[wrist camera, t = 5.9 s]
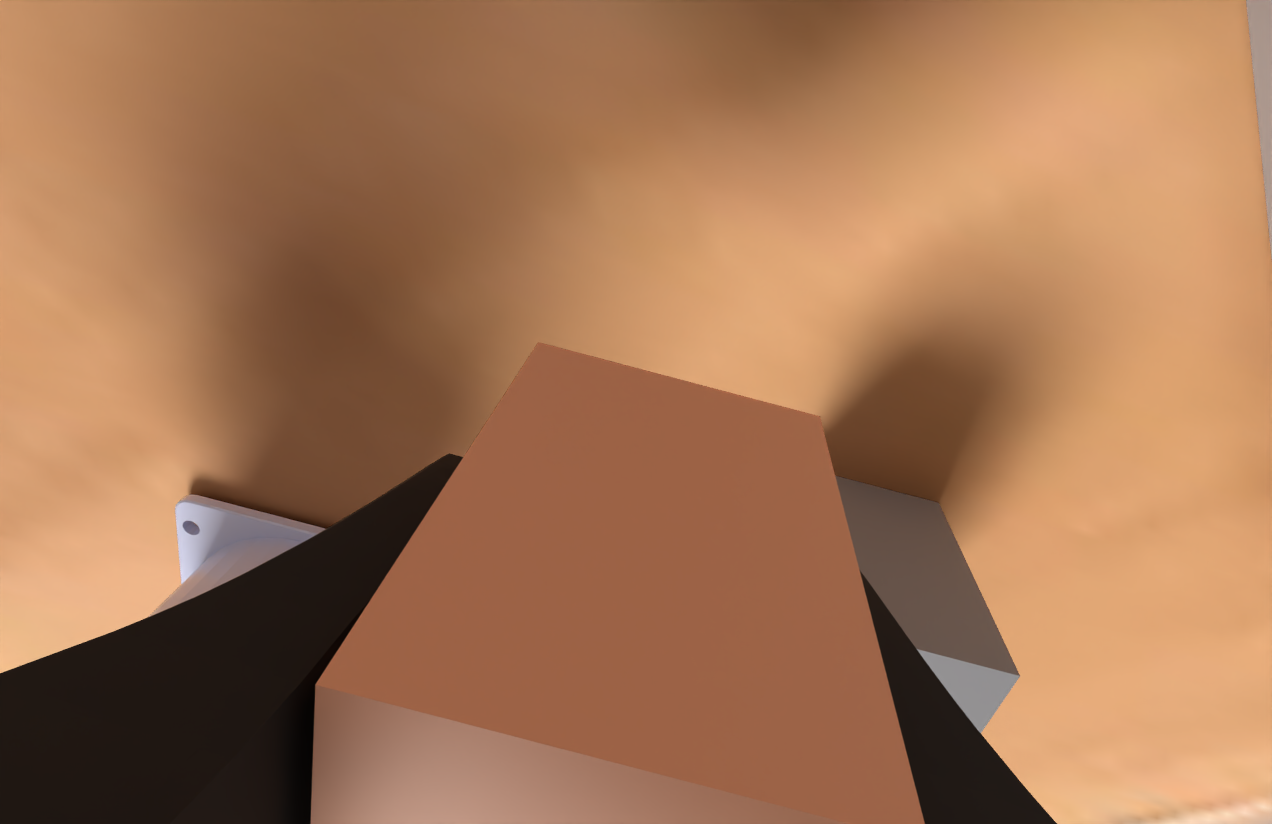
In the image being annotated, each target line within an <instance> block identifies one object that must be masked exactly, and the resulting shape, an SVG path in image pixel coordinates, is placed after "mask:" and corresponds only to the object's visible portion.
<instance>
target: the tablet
mask: <svg viewBox="0 0 1272 824" xmlns="http://www.w3.org/2000/svg"><path fill="white" fill-rule="evenodd" d="M1246 4H1247V14H1248V24H1249V34H1250V45H1251V55H1252V65H1253V75H1254V85H1255V95H1256V105H1257V115H1258V125H1259V136H1260V146H1261V156H1262V166H1263V176H1264V186H1265V196H1266V206H1267V216H1268V227H1269V237H1270V247H1271V257H1272V0H1246Z"/></svg>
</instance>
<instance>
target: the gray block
mask: <svg viewBox="0 0 1272 824" xmlns="http://www.w3.org/2000/svg"><path fill="white" fill-rule="evenodd" d="M835 477H836V481H837V485H838V489H839V492H840V496H841V500H842V504H843V508H844V512H845V516H846V520H847V524H848V527H849V531H850V535H851V539H852V543H853V547H854V551H855V555H856V559H857V562H858V566H859V570H860V571H861V572H862V574H863V575H864V576H865V578H866V579H867V580H868V582H869V583H870V585H871V586H872V587H873V589H874V590H875V591H876V593H877V594H878V596H879V597H880V599H881V600H882V601H883V603H884V604H885V606H886V607H887V608H888V610H889V611H890V613H891V614H892V615H893V617H894V618H895V620H896V621H897V622H898V624H899V625H900V627H901V628H902V629H903V631H904V632H905V634H906V635H907V636H908V638H909V639H910V641H911V642H912V643H913V645H914V646H915V648H916V649H917V650H918V652H919V653H920V654H921V656H922V657H923V659H924V660H925V661H926V663H927V664H928V665H929V667H930V668H931V669H932V671H933V672H934V673H935V675H936V676H937V678H938V679H939V680H940V682H941V683H942V684H943V686H944V687H945V688H946V690H947V691H948V692H949V694H950V695H951V696H952V697H953V699H954V700H955V701H956V703H957V704H958V705H959V707H960V708H961V709H962V710H963V712H964V713H965V714H966V716H967V717H968V718H969V719H970V721H971V722H972V723H973V725H974V726H975V727H976V728H977V730H978V731H979V732H980V733H981V732H982V731H983V729H984V728H985V726H986V725H987V723H988V722H989V720H990V719H991V718H992V716H993V715H994V713H995V712H996V710H997V709H998V707H999V706H1000V704H1001V703H1002V702H1003V700H1004V699H1005V697H1006V696H1007V694H1008V693H1009V691H1010V690H1011V688H1012V687H1013V686H1014V684H1015V683H1016V681H1017V680H1018V678H1019V677H1020V675H1019V673H1018V671H1017V669H1016V666H1015V664H1014V662H1013V660H1012V658H1011V656H1010V654H1009V652H1008V649H1007V647H1006V645H1005V643H1004V641H1003V639H1002V637H1001V635H1000V632H999V630H998V628H997V626H996V624H995V622H994V620H993V618H992V615H991V613H990V611H989V609H988V607H987V605H986V603H985V600H984V598H983V596H982V594H981V592H980V590H979V588H978V586H977V583H976V581H975V579H974V577H973V575H972V573H971V571H970V569H969V566H968V564H967V562H966V560H965V558H964V556H963V554H962V551H961V549H960V547H959V545H958V543H957V541H956V539H955V537H954V534H953V532H952V530H951V528H950V526H949V524H948V522H947V520H946V517H945V515H944V513H943V511H942V509H941V507H940V505H939V503H938V502H934V501H930V500H926V499H923V498H919V497H915V496H911V495H907V494H903V493H900V492H896V491H892V490H888V489H884V488H881V487H877V486H873V485H869V484H865V483H862V482H858V481H854V480H850V479H846V478H843V477H839V476H835Z"/></svg>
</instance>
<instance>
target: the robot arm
mask: <svg viewBox="0 0 1272 824" xmlns="http://www.w3.org/2000/svg"><path fill="white" fill-rule="evenodd" d="M462 459H463V457H460V456H456V455H453V454H448V455H446V456H444V457H442V458H440V459H439V460H437V461H435V462H434V463H432V464H430V465H429V466H427V467H426V468H424V469H423V470H421V471H419V472H418V473H416V474H415V475H413V476H412V477H410V478H409V479H407V480H406V481H404V482H402V483H401V484H399V485H398V486H396V487H395V488H393V489H391V490H390V491H388V492H387V493H385V494H383V495H382V496H380V497H379V498H377V499H375V500H374V501H372V502H371V503H369V504H367V505H366V506H364V507H362V508H361V509H359V510H357V511H356V512H354V513H352V514H351V515H349V516H347V517H346V518H344V519H342V520H340V521H339V522H337V523H335V524H334V525H332V526H330V527H329V528H327V529H325V528H321V527H318V526H314V525H310V524H306V523H302V522H299V521H295V520H291V519H287V518H283V517H279V516H276V515H272V514H268V513H264V512H260V511H256V510H253V509H249V508H245V507H241V506H237V505H234V504H230V503H226V502H222V501H218V500H214V499H211V498H207V497H203V496H199V495H192V494H191V495H187V496H185V497H184V498H183V499H182V500H180V501H179V502H178V503H177V504H176V508H175V514H176V526H177V537H178V549H179V561H180V573H181V585H180V586H179V587H178V588H177V589H176V590H175V591H174V592H173V593H172V594H171V595H170V596H169V597H168V598H167V599H166V600H165V601H164V602H163V603H162V604H161V605H160V606H159V607H158V608H157V609H156V610H155V611H154V612H153V613H152V614H151V615H150V616H149V617H148V618H145V619H143V620H141V621H138V622H136V623H133V624H131V625H129V626H126V627H124V628H121V629H119V630H116V631H114V632H111V633H108V634H106V635H103V636H100V637H98V638H95V639H92V640H89V641H87V642H84V643H81V644H79V645H76V646H73V647H70V648H68V649H65V650H62V651H60V652H57V653H54V654H52V655H49V656H46V657H43V658H41V659H38V660H35V661H33V662H30V663H27V664H25V665H22V666H19V667H16V668H14V669H11V670H8V671H6V672H3V673H0V824H311V797H312V768H313V739H314V710H315V684H316V683H317V681H318V680H319V678H320V677H321V675H322V674H323V672H324V671H325V669H326V668H327V666H328V665H329V663H330V661H331V660H332V658H333V657H334V655H335V654H336V652H337V651H338V649H339V648H340V646H341V645H342V643H343V641H344V640H345V638H346V637H347V635H348V634H349V632H350V631H351V629H352V628H353V626H354V625H355V623H356V622H357V620H358V618H359V617H360V615H361V614H362V612H363V611H364V609H365V608H366V606H367V605H368V603H369V602H370V600H371V598H372V597H373V595H374V594H375V592H376V591H377V589H378V588H379V586H380V585H381V583H382V582H383V580H384V579H385V577H386V575H387V574H388V572H389V571H390V569H391V568H392V566H393V565H394V563H395V562H396V560H397V559H398V557H399V555H400V554H401V552H402V551H403V549H404V548H405V546H406V545H407V543H408V542H409V540H410V539H411V537H412V535H413V534H414V532H415V531H416V529H417V528H418V526H419V525H420V523H421V522H422V520H423V519H424V517H425V516H426V514H427V512H428V511H429V509H430V508H431V506H432V505H433V503H434V502H435V500H436V499H437V497H438V496H439V494H440V492H441V491H442V489H443V488H444V486H445V485H446V483H447V482H448V480H449V479H450V477H451V476H452V474H453V473H454V471H455V469H456V468H457V466H458V465H459V463H460V462H461V460H462ZM193 522H194V523H196V524H197V525H198V526H197V525H195V524H194V523H193ZM860 574H861V578H862V582H863V586H864V590H865V593H866V597H867V601H868V605H869V609H870V613H871V617H872V621H873V625H874V628H875V632H876V636H877V640H878V644H879V648H880V652H881V656H882V660H883V663H884V667H885V671H886V675H887V679H888V683H889V687H890V691H891V694H892V698H893V702H894V706H895V710H896V714H897V718H898V722H899V726H900V729H901V733H902V737H903V741H904V745H905V749H906V753H907V757H908V761H909V764H910V768H911V772H912V776H913V780H914V784H915V788H916V792H917V795H918V799H919V803H920V807H921V811H922V815H923V819H924V823H925V824H1057V823H1056V822H1055V821H1054V820H1053V819H1052V818H1051V817H1050V815H1049V814H1048V813H1047V812H1046V811H1045V810H1044V809H1043V807H1042V806H1041V805H1040V804H1039V803H1038V802H1037V801H1036V799H1035V798H1034V797H1033V796H1032V795H1031V794H1030V793H1029V791H1028V790H1027V789H1026V788H1025V787H1024V786H1023V784H1022V783H1021V782H1020V781H1019V780H1018V778H1017V777H1016V776H1015V775H1014V774H1013V772H1012V771H1011V770H1010V769H1009V767H1008V766H1007V765H1006V764H1005V763H1004V761H1003V760H1002V759H1001V758H1000V757H999V755H998V754H997V753H996V752H995V750H994V749H993V748H992V747H991V746H990V744H989V743H988V742H987V741H986V739H985V738H984V737H983V736H982V735H981V733H980V732H979V731H978V730H977V728H976V727H975V726H974V725H973V723H972V722H971V721H970V719H969V718H968V717H967V716H966V714H965V713H964V712H963V710H962V709H961V708H960V707H959V705H958V704H957V703H956V701H955V700H954V699H953V697H952V696H951V695H950V694H949V692H948V691H947V690H946V688H945V687H944V686H943V684H942V683H941V682H940V680H939V679H938V678H937V676H936V675H935V673H934V672H933V671H932V669H931V668H930V667H929V665H928V664H927V663H926V661H925V660H924V659H923V657H922V656H921V654H920V653H919V652H918V650H917V649H916V648H915V646H914V645H913V643H912V642H911V641H910V639H909V638H908V636H907V635H906V634H905V632H904V631H903V629H902V628H901V627H900V625H899V624H898V622H897V621H896V620H895V618H894V617H893V615H892V614H891V613H890V611H889V610H888V608H887V607H886V606H885V604H884V603H883V601H882V600H881V599H880V597H879V596H878V594H877V593H876V591H875V590H874V589H873V587H872V586H871V585H870V583H869V582H868V580H867V579H866V578H865V576H864V575H863V574H862V572H861V571H860Z"/></svg>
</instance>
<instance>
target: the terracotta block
mask: <svg viewBox="0 0 1272 824" xmlns="http://www.w3.org/2000/svg"><path fill="white" fill-rule="evenodd" d="M311 824H925V823H924V819H923V815H922V811H921V807H920V803H919V799H918V795H917V792H916V788H915V784H914V780H913V776H912V772H911V768H910V764H909V761H908V757H907V753H906V749H905V745H904V741H903V737H902V733H901V729H900V726H899V722H898V718H897V714H896V710H895V706H894V702H893V698H892V694H891V691H890V687H889V683H888V679H887V675H886V671H885V667H884V663H883V660H882V656H881V652H880V648H879V644H878V640H877V636H876V632H875V628H874V625H873V621H872V617H871V613H870V609H869V605H868V601H867V597H866V593H865V590H864V586H863V582H862V578H861V574H860V570H859V566H858V562H857V559H856V555H855V551H854V547H853V543H852V539H851V535H850V531H849V527H848V524H847V520H846V516H845V512H844V508H843V504H842V500H841V496H840V492H839V489H838V485H837V481H836V477H835V473H834V469H833V465H832V461H831V458H830V454H829V450H828V446H827V442H826V438H825V434H824V430H823V426H822V423H821V419H820V416H816V415H812V414H809V413H805V412H801V411H797V410H793V409H790V408H786V407H782V406H778V405H774V404H771V403H767V402H763V401H759V400H755V399H752V398H748V397H744V396H740V395H736V394H733V393H729V392H725V391H721V390H718V389H714V388H710V387H706V386H702V385H699V384H695V383H691V382H687V381H683V380H680V379H676V378H672V377H668V376H664V375H661V374H657V373H653V372H649V371H645V370H642V369H638V368H634V367H630V366H626V365H623V364H619V363H615V362H611V361H607V360H604V359H600V358H596V357H592V356H588V355H585V354H581V353H577V352H573V351H569V350H566V349H562V348H558V347H554V346H551V345H547V344H543V343H539V342H538V343H537V345H536V347H535V348H534V350H533V351H532V353H531V354H530V356H529V357H528V359H527V360H526V362H525V363H524V365H523V367H522V368H521V370H520V371H519V373H518V374H517V376H516V377H515V379H514V380H513V382H512V383H511V385H510V386H509V388H508V390H507V391H506V393H505V394H504V396H503V397H502V399H501V400H500V402H499V403H498V405H497V406H496V408H495V410H494V411H493V413H492V414H491V416H490V417H489V419H488V420H487V422H486V423H485V425H484V426H483V428H482V429H481V431H480V433H479V434H478V436H477V437H476V439H475V440H474V442H473V443H472V445H471V446H470V448H469V449H468V451H467V453H466V454H465V456H464V457H463V459H462V460H461V462H460V463H459V465H458V466H457V468H456V469H455V471H454V473H453V474H452V476H451V477H450V479H449V480H448V482H447V483H446V485H445V486H444V488H443V489H442V491H441V492H440V494H439V496H438V497H437V499H436V500H435V502H434V503H433V505H432V506H431V508H430V509H429V511H428V512H427V514H426V516H425V517H424V519H423V520H422V522H421V523H420V525H419V526H418V528H417V529H416V531H415V532H414V534H413V535H412V537H411V539H410V540H409V542H408V543H407V545H406V546H405V548H404V549H403V551H402V552H401V554H400V555H399V557H398V559H397V560H396V562H395V563H394V565H393V566H392V568H391V569H390V571H389V572H388V574H387V575H386V577H385V579H384V580H383V582H382V583H381V585H380V586H379V588H378V589H377V591H376V592H375V594H374V595H373V597H372V598H371V600H370V602H369V603H368V605H367V606H366V608H365V609H364V611H363V612H362V614H361V615H360V617H359V618H358V620H357V622H356V623H355V625H354V626H353V628H352V629H351V631H350V632H349V634H348V635H347V637H346V638H345V640H344V641H343V643H342V645H341V646H340V648H339V649H338V651H337V652H336V654H335V655H334V657H333V658H332V660H331V661H330V663H329V665H328V666H327V668H326V669H325V671H324V672H323V674H322V675H321V677H320V678H319V680H318V681H317V683H316V684H315V710H314V739H313V768H312V797H311Z"/></svg>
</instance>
